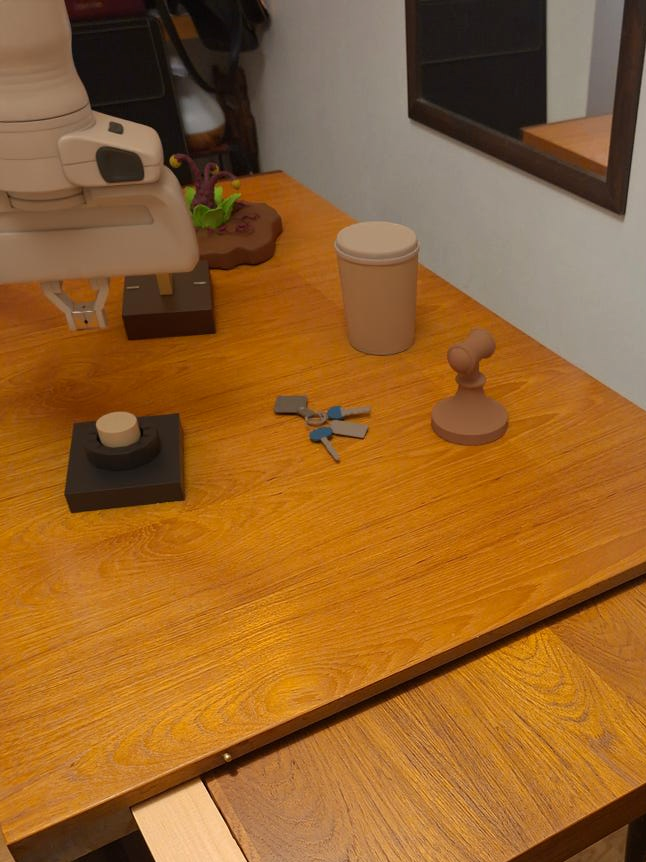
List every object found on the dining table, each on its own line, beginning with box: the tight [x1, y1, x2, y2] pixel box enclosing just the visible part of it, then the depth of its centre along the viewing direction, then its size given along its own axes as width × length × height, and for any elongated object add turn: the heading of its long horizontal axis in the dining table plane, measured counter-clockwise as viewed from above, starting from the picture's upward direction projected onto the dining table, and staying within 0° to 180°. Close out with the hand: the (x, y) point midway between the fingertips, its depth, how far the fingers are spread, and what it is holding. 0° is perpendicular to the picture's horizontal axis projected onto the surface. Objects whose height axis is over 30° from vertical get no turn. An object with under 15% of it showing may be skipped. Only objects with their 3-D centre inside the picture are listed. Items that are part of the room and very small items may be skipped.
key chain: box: [273, 395, 372, 461], centre depth 93 cm, size 14×8×1 cm, turn 40°
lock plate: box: [121, 260, 217, 341], centre depth 109 cm, size 10×14×3 cm
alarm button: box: [96, 411, 141, 448], centre depth 83 cm, size 4×4×2 cm
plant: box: [169, 152, 283, 270], centre depth 121 cm, size 20×20×11 cm
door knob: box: [430, 326, 509, 446], centre depth 91 cm, size 8×10×8 cm
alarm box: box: [63, 412, 186, 514], centre depth 85 cm, size 10×12×4 cm
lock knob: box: [156, 273, 173, 295], centre depth 107 cm, size 5×1×4 cm, turn 13°
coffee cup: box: [333, 220, 421, 356], centre depth 102 cm, size 9×9×12 cm
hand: (89, 327), depth 76 cm, fingers closed
